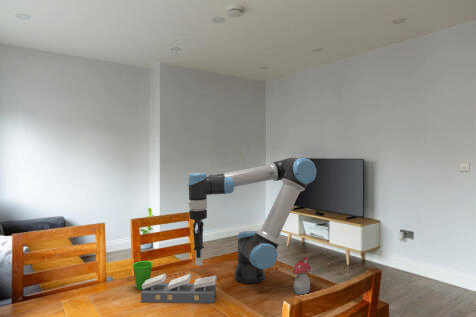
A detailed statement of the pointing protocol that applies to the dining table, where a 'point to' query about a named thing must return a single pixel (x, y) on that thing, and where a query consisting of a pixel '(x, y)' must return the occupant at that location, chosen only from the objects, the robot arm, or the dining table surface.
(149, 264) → the cup
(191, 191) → the robot arm
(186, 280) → the rocker
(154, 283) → the rocker
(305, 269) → the decorative ornament
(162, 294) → the switch unit
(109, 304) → the dining table surface
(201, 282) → the rocker
